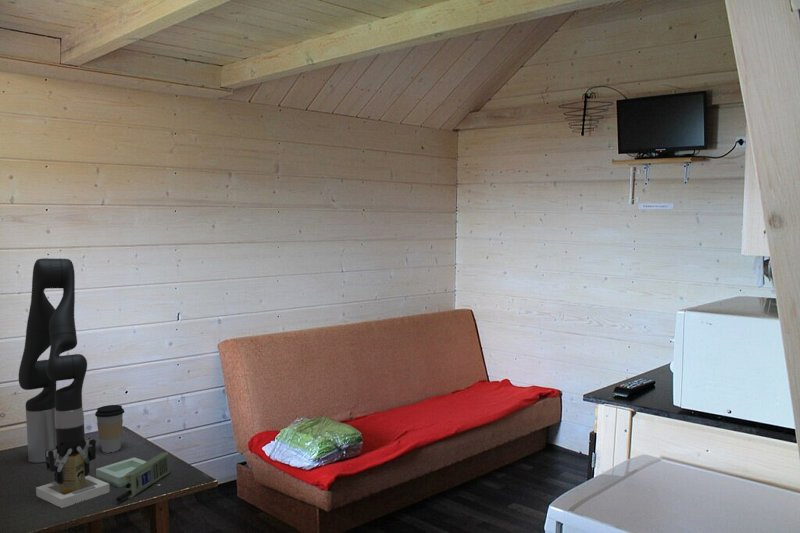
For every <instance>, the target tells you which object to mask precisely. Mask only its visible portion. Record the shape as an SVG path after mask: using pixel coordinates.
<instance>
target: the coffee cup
mask: <svg viewBox="0 0 800 533" xmlns="http://www.w3.org/2000/svg"><path fill="white" fill-rule="evenodd" d="M96 410H97V411H96V412H95V414H94V415H95V417H96V421H97V422H96V425H97V431H98V438H99V441H100V447H101V451H102V453H104V452H105V454H109V453H110V452H112V453H115V451H116V452H118V450H119V449H120V450H121V446H122V445H121V444H122V435H123V424H124V423H123V422H124V420H123V414H124V413H125V409H124V408H123V406H122V405H121V404H108V405H103V406H100V407H98V408H97V409H96ZM120 450H119V451H120ZM110 454H111V453H110Z"/></svg>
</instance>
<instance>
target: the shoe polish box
mask: <svg viewBox="0 0 800 533" xmlns="http://www.w3.org/2000/svg"><path fill="white" fill-rule="evenodd" d="M81 453H82V452H81ZM81 453H76V454H73V455H69V456H68V459H67V461H66V463H65V464H64V466H63V468H62V470H61V471H62V478H63V484H60V492H59V493H61V494H63V495H66V494H69V493H72V492H74V491H77V490H80V489H83V488H86V482H85V462H84V460H83V458H82V456H81ZM58 459H59V460H62V459H63V457H62V456H58Z"/></svg>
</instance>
